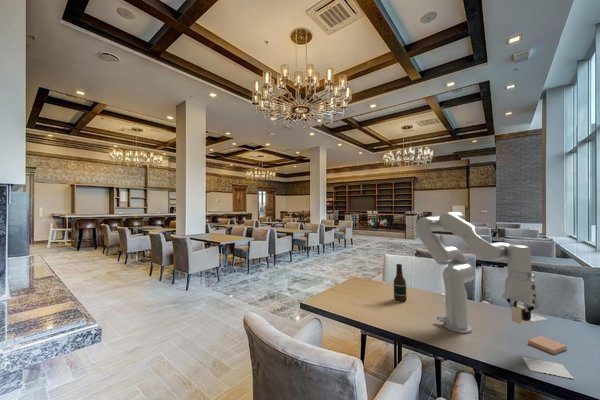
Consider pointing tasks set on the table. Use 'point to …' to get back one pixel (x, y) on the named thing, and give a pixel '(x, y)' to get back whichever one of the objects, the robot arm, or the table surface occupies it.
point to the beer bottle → (399, 285)
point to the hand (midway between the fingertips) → (521, 317)
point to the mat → (547, 367)
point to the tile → (547, 344)
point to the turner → (518, 316)
